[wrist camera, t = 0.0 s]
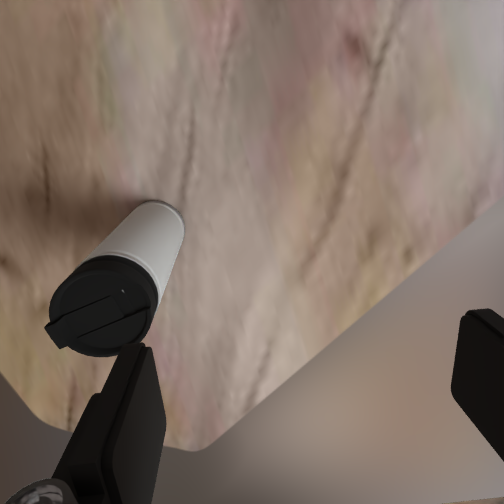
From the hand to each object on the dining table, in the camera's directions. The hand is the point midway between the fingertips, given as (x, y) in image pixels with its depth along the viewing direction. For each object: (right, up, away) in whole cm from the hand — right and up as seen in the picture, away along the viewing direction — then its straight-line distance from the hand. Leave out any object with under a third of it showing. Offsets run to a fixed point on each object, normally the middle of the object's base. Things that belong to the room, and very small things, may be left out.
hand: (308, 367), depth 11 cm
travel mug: (-12, +6, +31) cm, 34 cm away
